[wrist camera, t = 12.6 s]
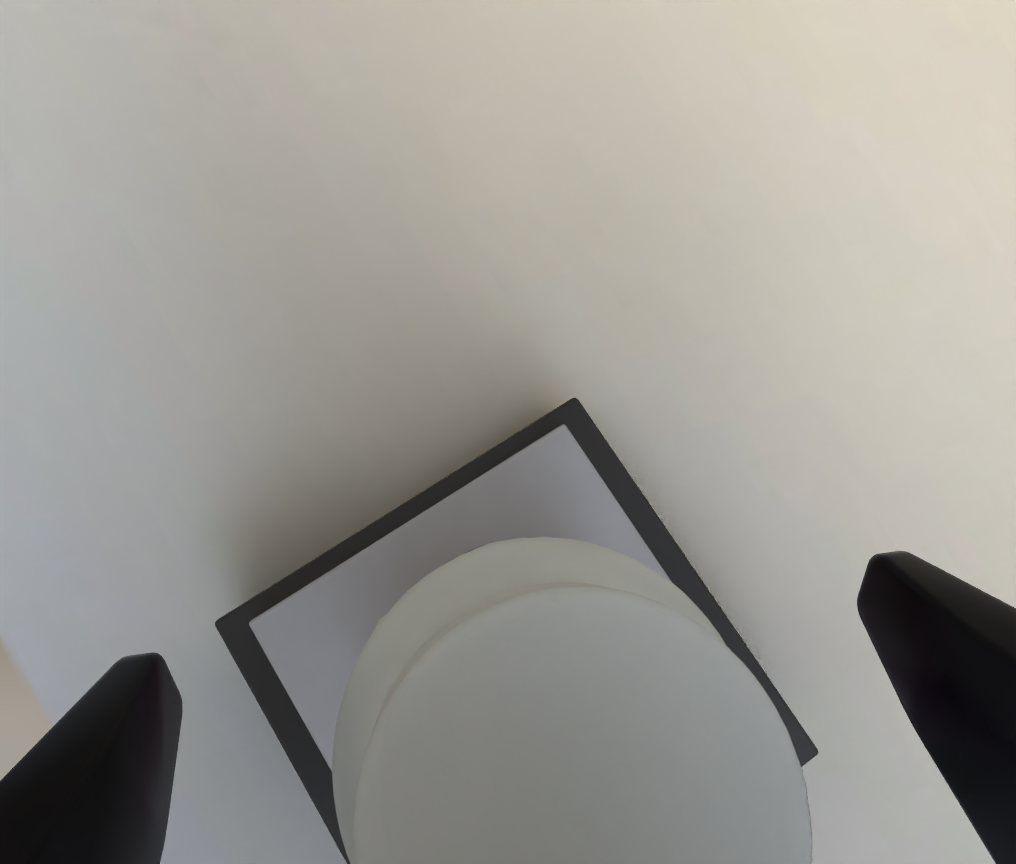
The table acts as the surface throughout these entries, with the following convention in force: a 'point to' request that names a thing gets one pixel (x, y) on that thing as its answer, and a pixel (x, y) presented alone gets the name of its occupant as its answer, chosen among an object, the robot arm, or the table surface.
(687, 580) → the scale
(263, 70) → the table surface
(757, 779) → the pill bottle
